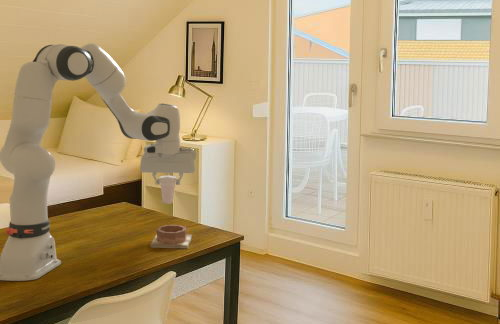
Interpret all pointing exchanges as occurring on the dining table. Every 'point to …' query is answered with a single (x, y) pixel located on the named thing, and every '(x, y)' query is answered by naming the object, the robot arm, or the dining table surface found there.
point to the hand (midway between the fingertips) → (167, 184)
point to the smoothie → (167, 188)
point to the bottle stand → (171, 237)
